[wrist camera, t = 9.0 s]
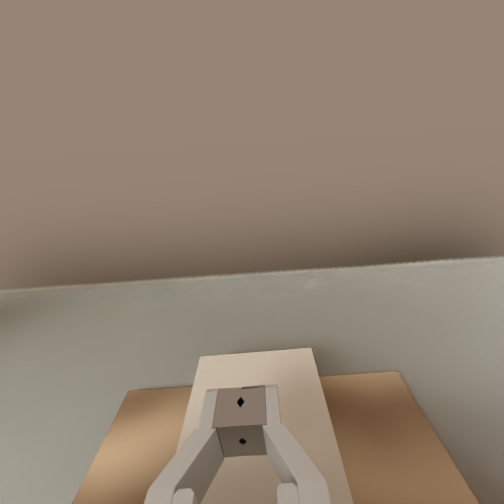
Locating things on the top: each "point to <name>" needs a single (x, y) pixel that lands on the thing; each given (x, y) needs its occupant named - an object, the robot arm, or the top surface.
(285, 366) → the tile
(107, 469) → the wooden board
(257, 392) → the robot arm
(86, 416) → the top surface
